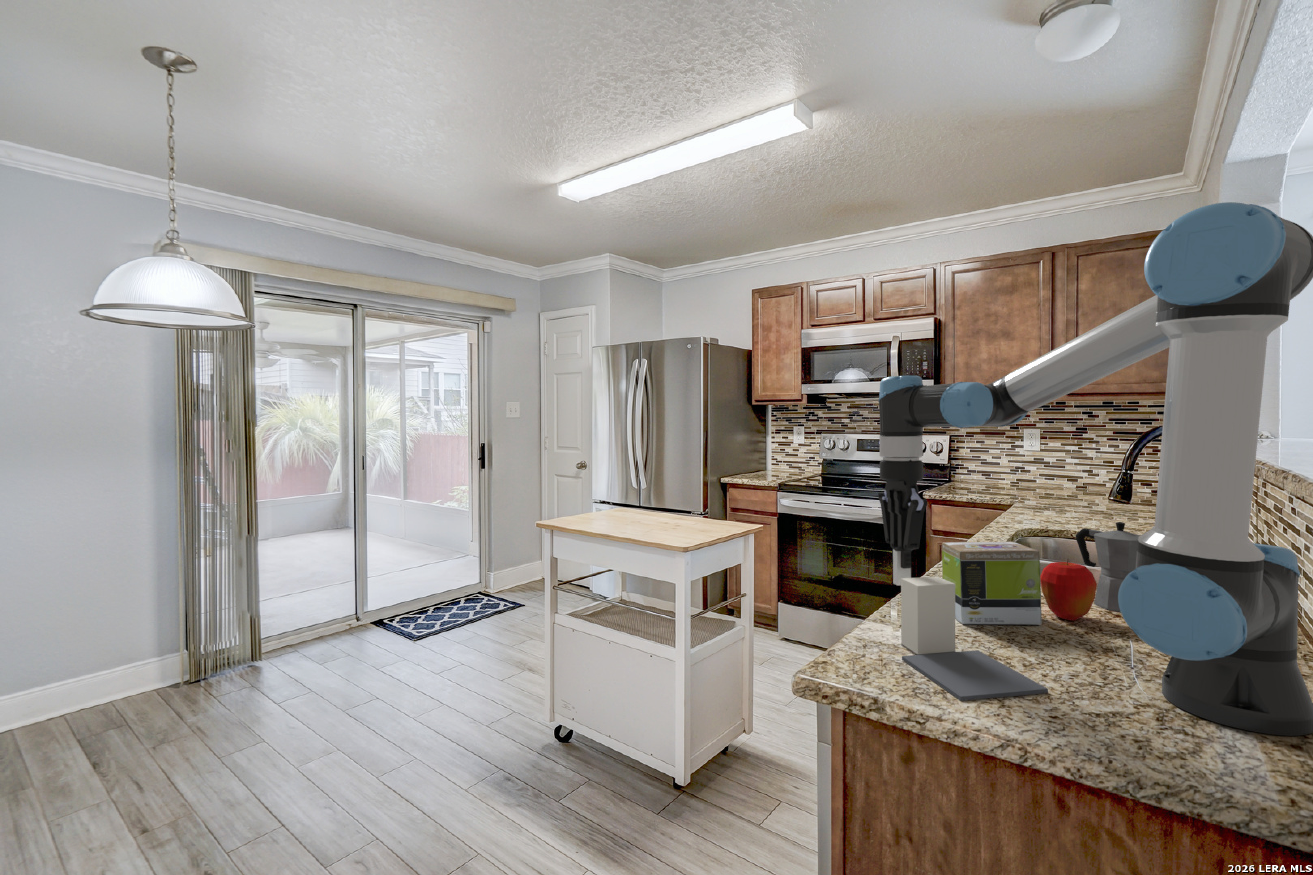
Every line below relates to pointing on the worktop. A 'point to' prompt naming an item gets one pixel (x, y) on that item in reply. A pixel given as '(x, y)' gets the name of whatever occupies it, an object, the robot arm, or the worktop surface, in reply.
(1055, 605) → the apple
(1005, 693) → the mat
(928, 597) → the cream block
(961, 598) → the tea box
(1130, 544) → the coffeepot
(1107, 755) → the worktop surface
